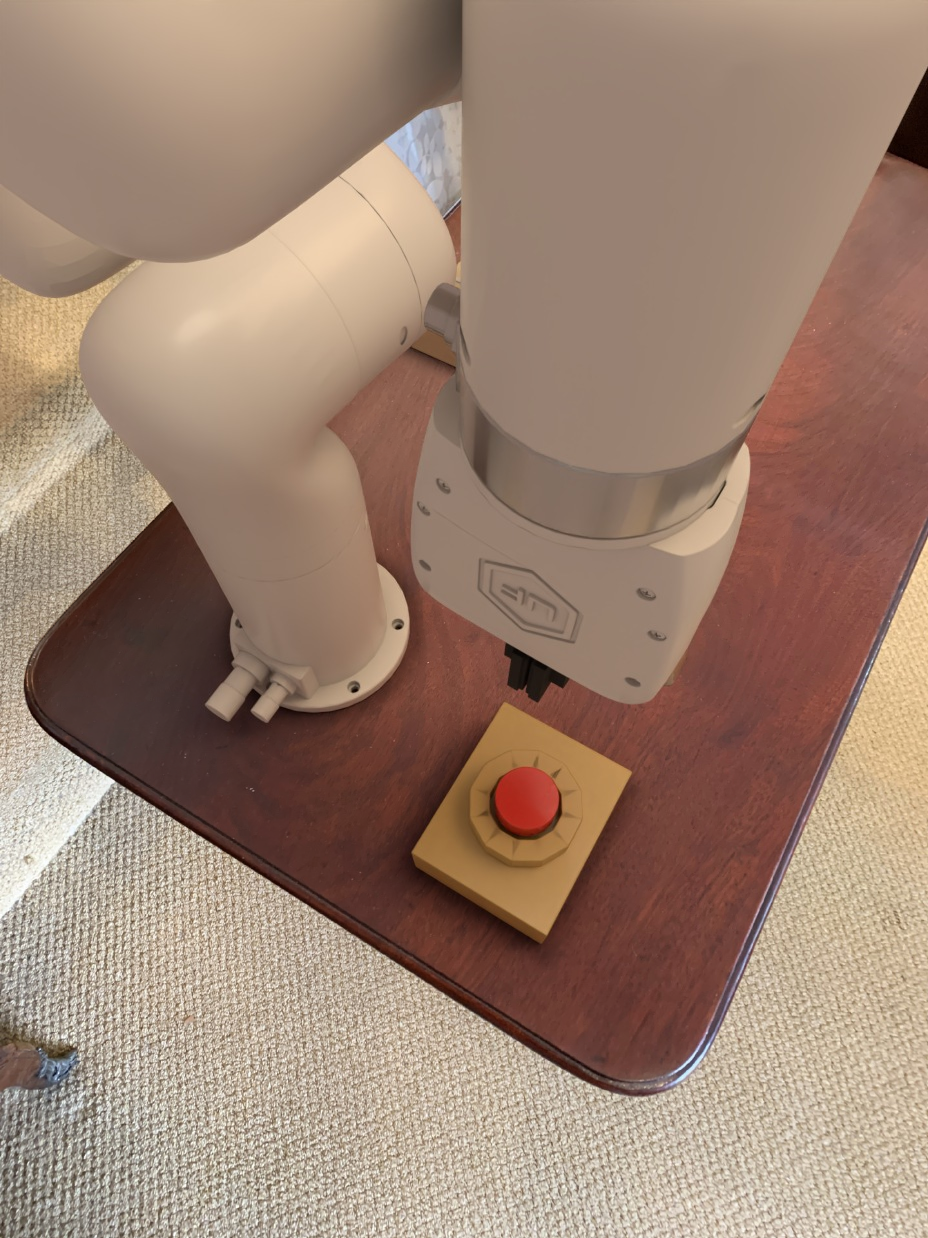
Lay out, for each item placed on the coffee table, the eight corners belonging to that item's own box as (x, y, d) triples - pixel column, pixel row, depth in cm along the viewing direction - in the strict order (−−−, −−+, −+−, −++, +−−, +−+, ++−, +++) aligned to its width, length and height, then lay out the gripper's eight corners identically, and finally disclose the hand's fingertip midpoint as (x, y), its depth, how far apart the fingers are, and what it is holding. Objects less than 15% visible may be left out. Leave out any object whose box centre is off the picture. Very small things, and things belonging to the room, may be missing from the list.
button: (537, 848, 49) (540, 841, 47) (483, 816, 49) (483, 808, 48) (567, 794, 50) (570, 786, 48) (513, 764, 51) (515, 755, 49)
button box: (541, 944, 51) (549, 932, 46) (415, 866, 54) (408, 846, 48) (622, 790, 56) (638, 762, 50) (501, 723, 58) (505, 690, 52)
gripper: (286, 373, 23) (357, 651, 39) (815, 650, 19) (649, 827, 36) (440, 209, 26) (445, 533, 42) (925, 426, 22) (724, 685, 39)
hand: (539, 668), depth 39 cm, fingers closed
